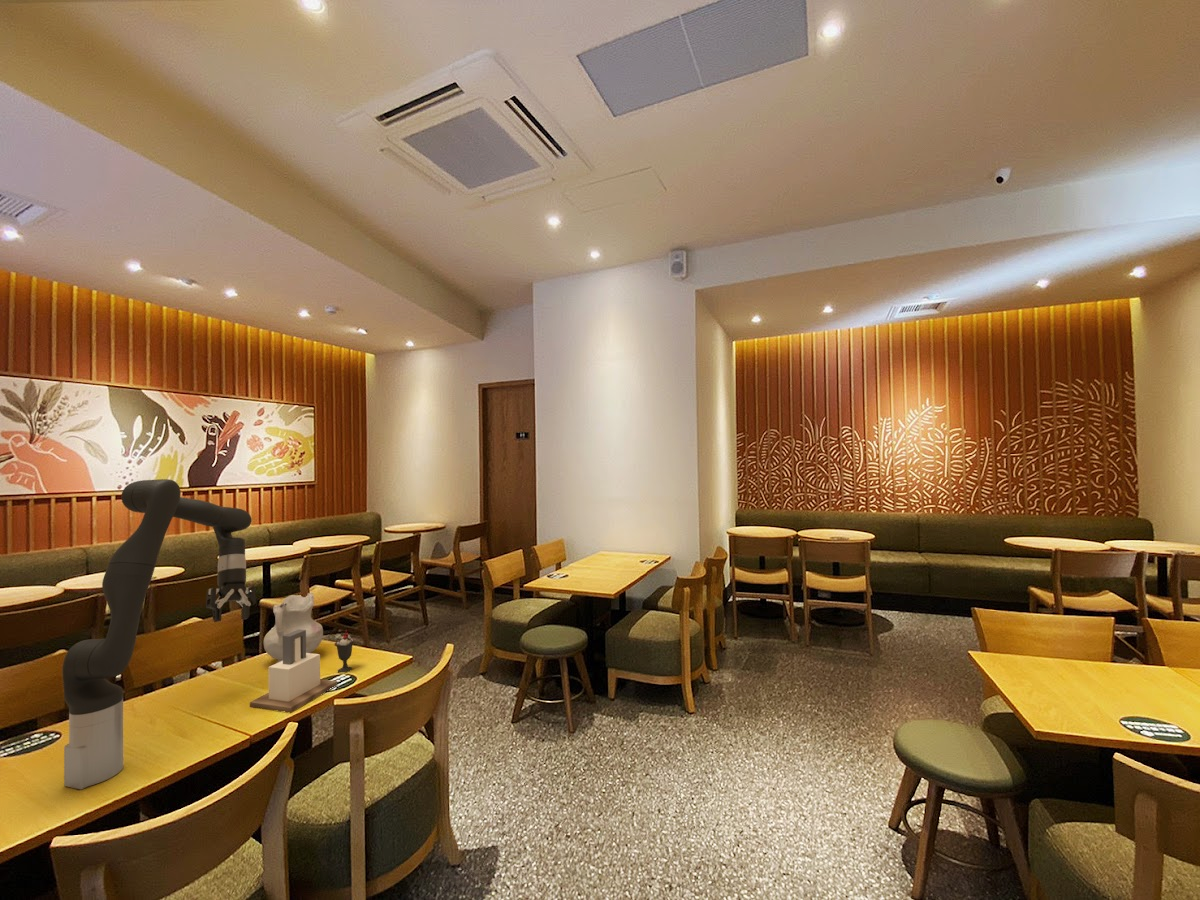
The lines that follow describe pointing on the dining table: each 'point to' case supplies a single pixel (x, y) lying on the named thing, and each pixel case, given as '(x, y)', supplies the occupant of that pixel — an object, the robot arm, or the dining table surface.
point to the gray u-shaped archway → (289, 645)
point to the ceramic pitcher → (293, 625)
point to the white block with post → (294, 675)
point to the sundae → (344, 650)
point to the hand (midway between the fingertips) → (231, 620)
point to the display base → (296, 702)
